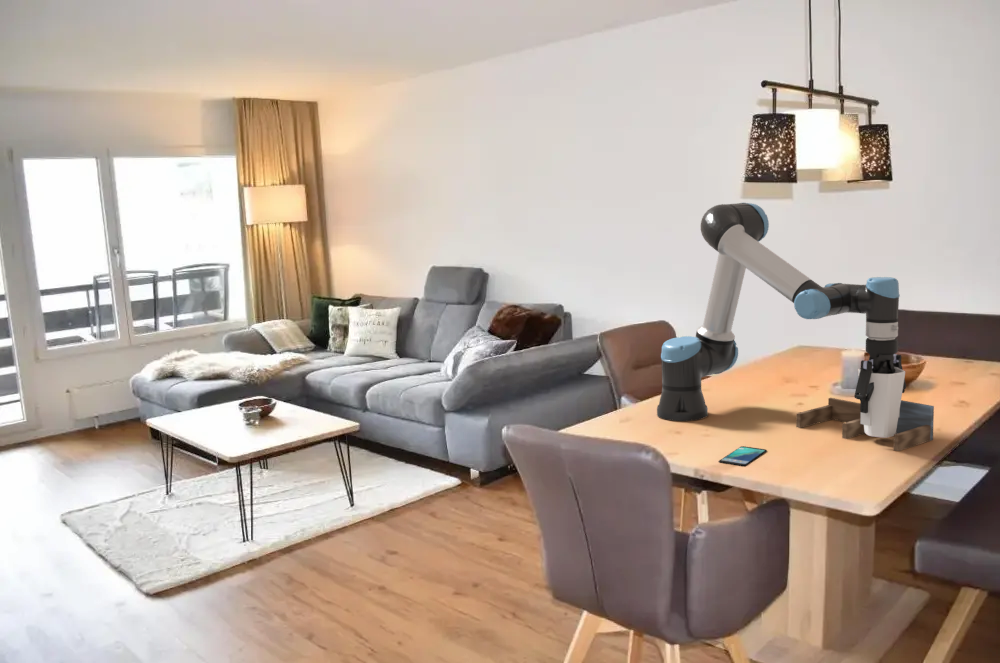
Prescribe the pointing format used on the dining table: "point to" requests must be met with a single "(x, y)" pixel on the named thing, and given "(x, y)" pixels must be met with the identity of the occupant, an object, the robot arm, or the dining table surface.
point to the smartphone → (743, 456)
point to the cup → (885, 403)
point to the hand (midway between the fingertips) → (880, 420)
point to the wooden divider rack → (910, 426)
